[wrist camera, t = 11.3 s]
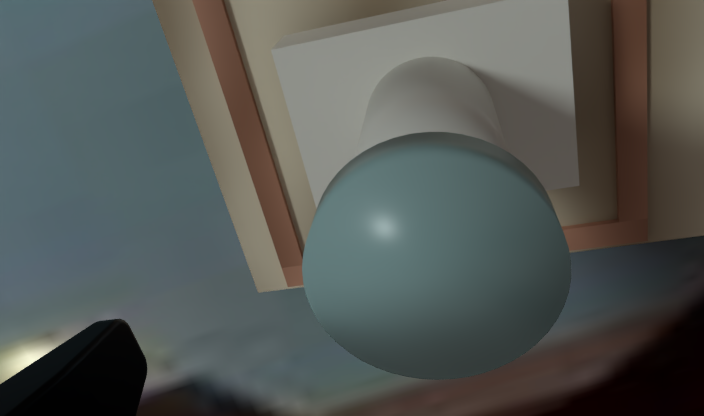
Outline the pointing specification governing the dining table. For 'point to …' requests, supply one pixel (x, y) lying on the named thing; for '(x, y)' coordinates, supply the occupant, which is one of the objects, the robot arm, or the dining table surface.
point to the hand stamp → (436, 180)
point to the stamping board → (569, 203)
